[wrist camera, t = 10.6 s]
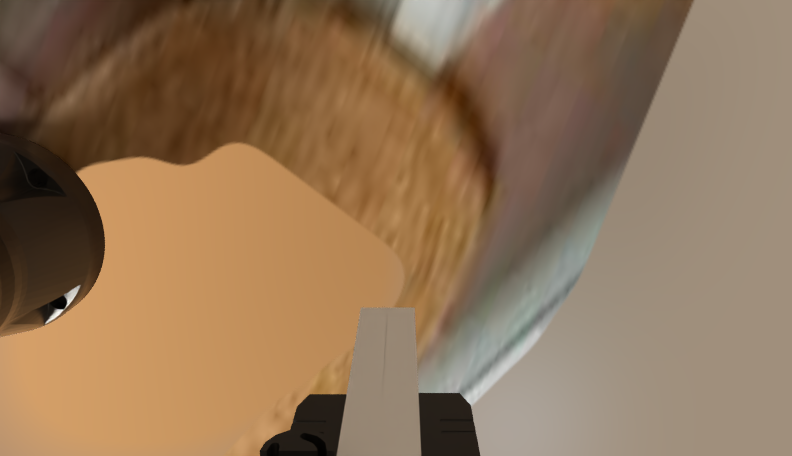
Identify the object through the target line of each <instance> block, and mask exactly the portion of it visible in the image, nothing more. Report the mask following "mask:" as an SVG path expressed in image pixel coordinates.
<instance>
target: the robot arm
mask: <svg viewBox="0 0 792 456" xmlns="http://www.w3.org/2000/svg"><path fill="white" fill-rule="evenodd" d="M104 251H105V237H104V229H103V224H102V220H101V217H100V213H99V210H98V208H97V206H96V203H95V201H94V199H93V197H92V195H91V194H90V192H89V190H88V189H87V187H86V186H85V184H84V183H83V182H82V180H81V179H80V178H79V177H78V175H77V174H76V173H75V172H74V171H73V170H72V169H71V168H70V167H69V166H68V165H67V164H66V163H65V162H63V161H62V160H61V159H60V158H58V157H57V156H56V155H54V154H53V153H51V152H50V151H48V150H47V149H45V148H43V147H41V146H39V145H37V144H35V143H33V142H31V141H28V140H26V139H22V138H19V137H16V136H12V135H7V134H0V337H3V336H7V335H12V334H17V333H22V332H26V331H30V330H34V329H37V328H39V327H42V326H44V325H47V324H49V323H51V322H53V321H55V320H56V319H58V318H59V317H61V316H62V315H64V314H65V313H66V312H67V311H69V310H70V309H71V308H73V307H74V306H75V305H77V304H78V303H79V302H80V301H81V300H82V299H83V298H84V297H85V296H86V295H87V294H88V293H89V291H90V290H91V288H92V287H93V285H94V284H95V282H96V280H97V278H98V276H99V273H100V271H101V267H102V263H103V259H104ZM260 456H480V452H479V447H478V441H477V436H476V432H475V426H474V422H473V415H472V410H471V405H470V404H469V403H468V402H467V401H466V400H465V399H464V398H463V396H462V395H461V394H460V393H418V372H417V350H416V327H415V308H361V311H360V317H359V323H358V329H357V335H356V341H355V347H354V353H353V359H352V365H351V371H350V378H349V384H348V390H347V394H310V395H309V396H308V397H307V398H305V399H304V400H303V401H302V402H301V403H300V404H299V405H298V406H297V409H296V412H295V416H294V419H293V423H292V426H291V429H290V430H289V431H286V432H283V433H280V434H277V435H275V436H274V437H272V438H271V439H269V440H268V441H266V442H265V444H264V445H263V447H262V448H261V450H260Z"/></svg>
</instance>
